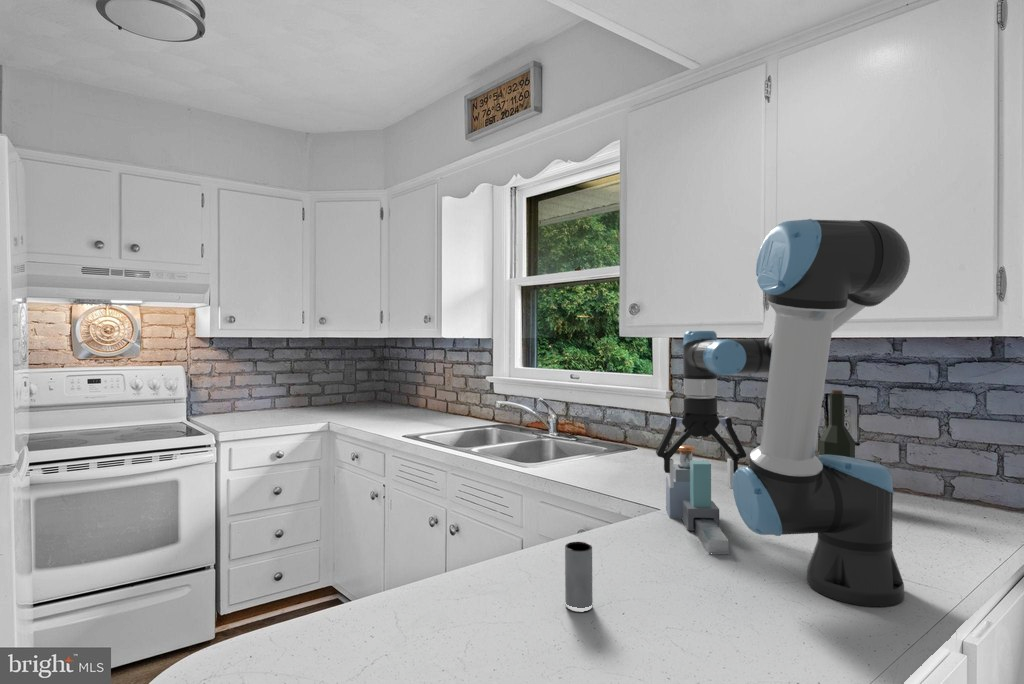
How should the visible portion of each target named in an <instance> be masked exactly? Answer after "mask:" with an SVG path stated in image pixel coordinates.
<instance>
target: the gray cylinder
mask: <svg viewBox="0 0 1024 684" xmlns="http://www.w3.org/2000/svg"><path fill="white" fill-rule="evenodd" d="M564 565H565V566H564V577H565V578H564V586H565V589H564V590H565V594H564V595H565V602H566V604H567V605H569V606H572V607H577V608H585V607H589V606H591V605H592V606H593V604H592V603H594V602H593V600H594V598H593V546H592V544H590V543H588V542H584V541H571V542H568V543H566V544H565V546H564ZM565 602H564V603H565ZM566 604H565V605H566Z"/></svg>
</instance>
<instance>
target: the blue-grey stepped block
mask: <svg viewBox="0 0 1024 684" xmlns="http://www.w3.org/2000/svg"><path fill="white" fill-rule="evenodd" d="M682 500H690V469H680V463H679V464H678V463H677V464H676V463H674V488H670V487H669V484H668V475H665V504H666V505H665V511H667V512H666V513H667V515H668V517H669V519H683V515H682Z"/></svg>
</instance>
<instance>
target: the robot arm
mask: <svg viewBox="0 0 1024 684" xmlns="http://www.w3.org/2000/svg"><path fill="white" fill-rule="evenodd" d="M910 262H911V255H910V250H909V246H908V244H907V242H906V241H905V239H904V237H903V236H902V235H901V234H900V233H899V232H898V231H897V230H896V229H894V227H891V226H889V225H888V224H885V223H883V222H880V221H875V220H869V219H868V220H867V219H866V220H864V219H860V220H847V219H843V220H842V219H812V218H809V219H797V220H796V219H795V220H786V221H783V222H781V223H779V224H777V225H776V226H774V227H773V228H772V229H771V230H770V232H769V233H768V234H767V235H766V236H765V238H764V239H763V241H762V244H761V246H760V248H759V252H758V254H757V259H756V264H755V265H756V266H755V274H756V276H757V279H756V280H757V285H758V286H759V287H760V290H761V291H762V292H764V293H766V294H768V296H767V303H768V304H769V306H770V307H771V308H772V309H773V310H774V312H775V321H774V328H773V333H772V334H770V335H769V336H768V337H767V338H751V339H750V338H748V339H746V338H742V339H738V338H737V339H735V338H734V339H733V338H732V339H729V338H726V339H725V338H724V339H722V338H719V339H718V337H717V335H718V334H717V332H715V330H688V331H685V332H684V334H683V343H682V350H683V352H682V353H683V355H682V358H683V365H682V367H683V395H684V398H683V416H682V417H675V416H670V417H669V422H668V423H669V424H668V427H667V428H666V431H665V432H664V435H663V437H662V439H661V441H660V443H659V445H658V447H657V449H656V451H655V454H656V456H657V457H660V458H662V459H663V470H664V473H665V474H667V476H668V484H669V487H670V488H674V464H675V463H674V459H673V458H672V457H673V456H674V455H675V453H677V451H678V449H679V448H680V446H681V445H684V443H685V442H686V441H687V440H688V439H689V438H690V437H691V436H692V437H694V438H698V437H704V438H708V437H710V436H712V438H714V440H715V441H716V442H717V443H718V444H719V445H720V447H721V448H722V449H723V450H724V451H725V452H726V453H727V455H728V456H729V457H730V458H727V459H726V461H727V462H726V464H727V465H726V473H727V474H726V478H727V479H726V482H727V483H726V484H727V485H726V486H727V487H728V489H730V490H732V492H733V498H734V501H735V502H734V503H735V505H736V508H737V511H738V513H739V515H740V517H741V519H742V521H743V523H744V524H745V525H746V527H747V528H748V529H749V530H750V531H751V532H754V533H755V534H758V535H760V536H761V535H762V536H763V535H764V536H767V535H768V536H769V535H770V536H776V537H780V536H782V535H783V536H784V535H785V536H786V535H804V534H806V535H807V534H817V542H816V544H815V546H814V549H813V552H812V554H811V557H810V559H809V563H808V565H807V569H806V581H807V582H806V583H807V584H808V585H809V587H810V588H811V589H813V590H814V591H815V592H817V593H819V594H821V595H823V596H825V597H827V598H830V599H833V600H836V601H840V602H843V603H848V604H852V605H856V606H857V605H858V606H865V607H890V606H895V605H898V604H900V603H902V602H903V601H904V599H905V583H904V580H903V577H902V575H901V572H900V569H899V566H898V564H897V561H896V558H895V554H894V551H893V505H894V504H893V500H894V499H893V496H894V492H895V491H894V488H893V487H894V485H893V476H892V472H891V470H890V469H889V468H887V466H884V465H882V464H880V463H877V462H874V461H870V460H865V459H861V458H856V457H855V458H851V457H845V456H838V455H826V454H825V455H820V456H819V455H818V457H817V456H816V455H815V453H816V447H817V441H818V435H819V426H820V420H821V419H820V418H821V413H822V405H823V398H824V397H823V396H824V392H825V391H824V389H825V383H826V378H827V377H826V375H827V372H828V371H827V369H828V363H829V356H830V349H831V342H832V335H833V333H834V332H835V331H838V329H840V328H841V327H842V326H843V325H845V323H847V322H848V321H849V320H851V319H852V318H853V317H855V316H857V314H859V313H860V312H861V311H862V310H864V309H866V308H869V307H874V306H875V307H876V306H878V305H880V304H881V303H883V302H884V301H885V300H886V299H888V298H889V297H890V296H891V295H893V294H894V293H895V292H896V291H897V290H898V289H899V288H900V286H901V285H903V283H904V281H905V278H906V276H907V275H908V273H909V269H910V264H911V263H910ZM740 374H741V375H743V374H744V375H745V374H768V379H767V385H766V395H765V405H764V413H763V419H762V420H763V422H762V428H761V439H760V445H759V446H757V447H755V448H754V449H752V450H751V451H750V453H749V462H748V466H746V465H745V466H741V467H739V461H740V460H741V459H745V458H747V452H746V451H745V449H744V447H743V445H742V443H741V441H740V439H739V437H738V435H737V433H736V431H735V429H734V427H733V420H732V418H731V417H729V416H724V417H721V418H720V417H718V399H717V397H716V396H717V395H718V376H731V375H740ZM680 424H681V425H683V427H684V429H683V430H682V431H681V433H680V434H679V436H678V437H677V438H676V439H675V440H674V441H673V443H672V444H671V445H670V446H669V443H670V441H671V439H672V437H673V435H674V433H675V431H676V428H678V427H679V426H680ZM720 424H721V427H723V428H724V429H725V431H726V433H727V435H728V437H729V438H730V440H731V443H732V444H733V446H734V449H735V450H736V452H735V451H734V450H733V449H732V448H731V447H730V445H729V444H728V443H727V442H726V440H724V439H723V438H722V436H721V435H720V434H719V433H718V431H717V430H716V429H717V427H718V426H719V425H720ZM668 446H669V447H668ZM667 447H668V449H667Z"/></svg>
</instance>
